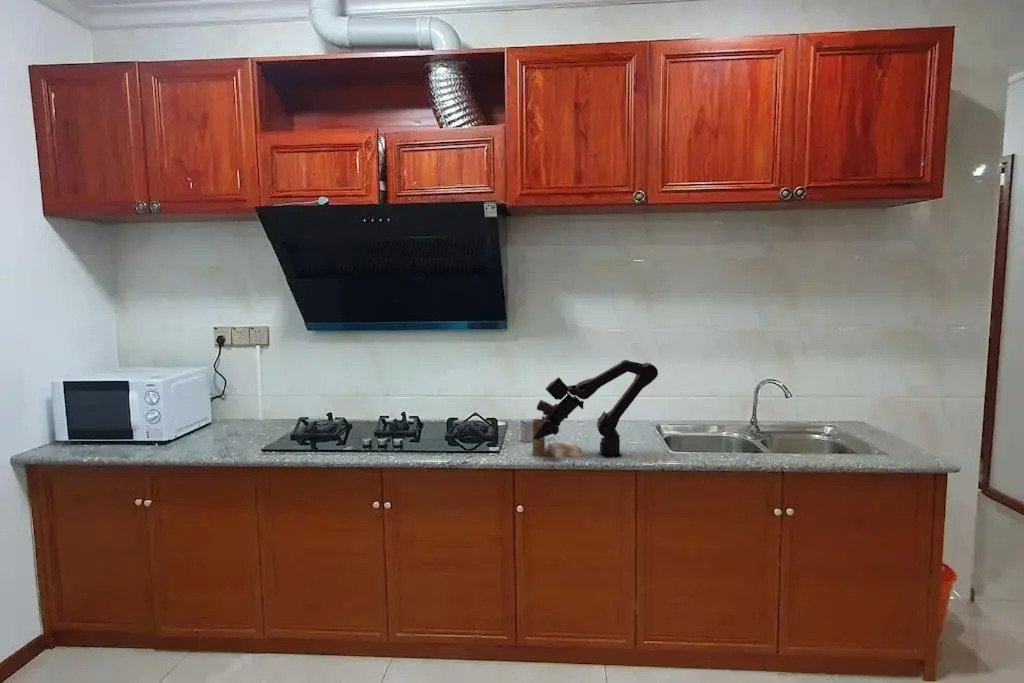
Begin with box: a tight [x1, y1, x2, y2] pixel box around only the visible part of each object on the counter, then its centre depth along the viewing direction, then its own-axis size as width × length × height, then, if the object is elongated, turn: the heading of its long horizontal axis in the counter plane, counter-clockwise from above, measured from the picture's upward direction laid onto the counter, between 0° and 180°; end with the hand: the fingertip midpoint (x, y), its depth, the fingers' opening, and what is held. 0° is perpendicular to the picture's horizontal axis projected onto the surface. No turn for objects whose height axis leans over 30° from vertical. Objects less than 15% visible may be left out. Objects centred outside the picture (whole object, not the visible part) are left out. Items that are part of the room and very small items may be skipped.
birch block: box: [548, 441, 582, 459], centre depth 228 cm, size 10×10×3 cm
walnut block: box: [532, 418, 546, 457], centre depth 227 cm, size 4×4×13 cm
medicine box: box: [520, 417, 539, 443], centre depth 246 cm, size 8×4×9 cm, turn 111°
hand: (535, 436), depth 227 cm, fingers closed on walnut block, 4 cm apart
